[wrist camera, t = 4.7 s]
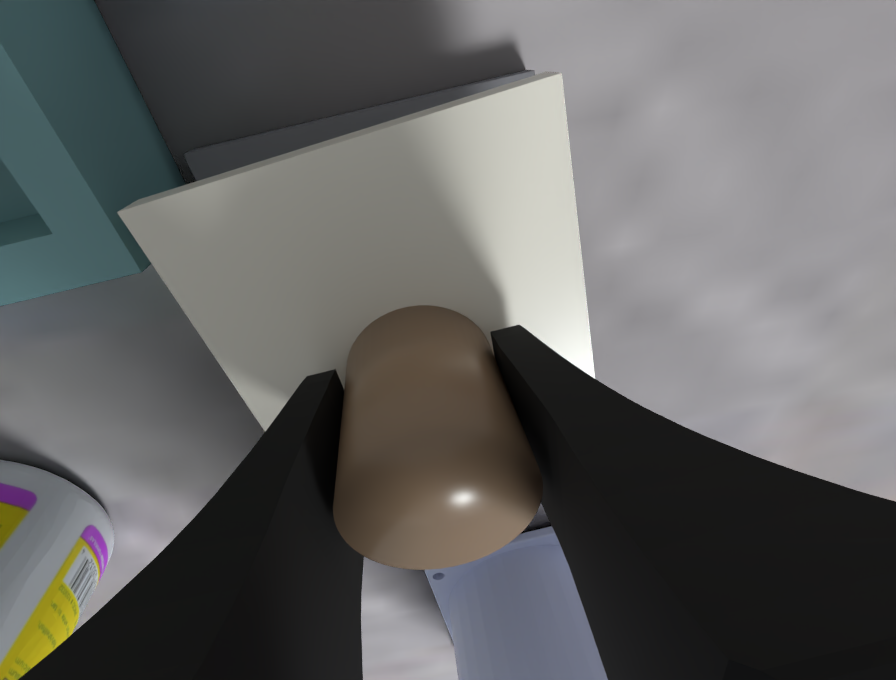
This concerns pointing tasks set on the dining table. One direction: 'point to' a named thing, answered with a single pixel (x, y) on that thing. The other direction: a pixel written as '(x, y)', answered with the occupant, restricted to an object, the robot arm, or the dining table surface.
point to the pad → (324, 129)
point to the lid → (395, 304)
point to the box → (70, 151)
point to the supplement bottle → (45, 562)
